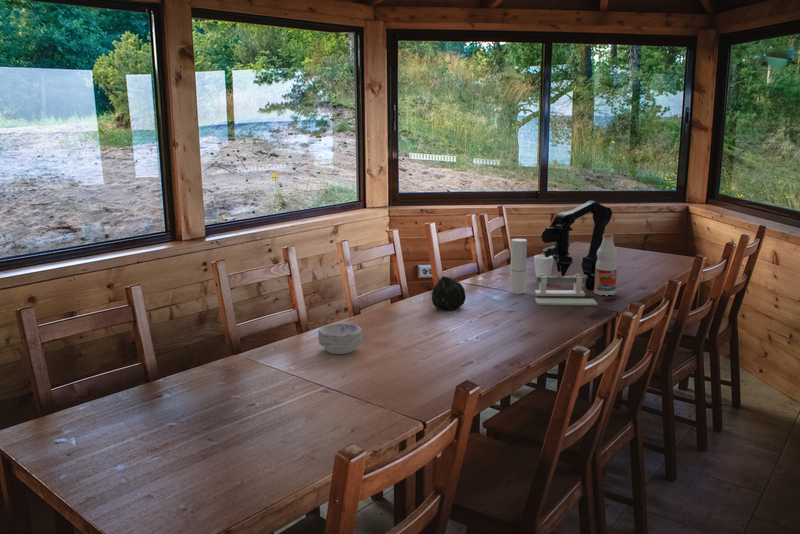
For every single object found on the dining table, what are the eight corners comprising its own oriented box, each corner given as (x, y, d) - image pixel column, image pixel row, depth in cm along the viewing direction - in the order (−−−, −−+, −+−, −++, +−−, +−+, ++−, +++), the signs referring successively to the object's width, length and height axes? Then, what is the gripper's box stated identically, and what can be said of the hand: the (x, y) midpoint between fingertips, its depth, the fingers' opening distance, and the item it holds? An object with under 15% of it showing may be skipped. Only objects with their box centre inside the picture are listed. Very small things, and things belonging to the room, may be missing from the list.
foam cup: (547, 285, 310) (548, 259, 307) (530, 282, 316) (531, 257, 313) (555, 281, 318) (556, 256, 315) (538, 278, 323) (539, 254, 320)
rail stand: (582, 292, 295) (583, 274, 293) (585, 296, 290) (586, 277, 288) (534, 292, 297) (535, 273, 295) (536, 295, 291) (537, 276, 289)
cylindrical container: (524, 290, 301) (526, 238, 296) (525, 293, 294) (527, 241, 289) (509, 289, 302) (510, 238, 297) (510, 293, 295) (512, 241, 290)
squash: (474, 292, 276) (451, 267, 276) (468, 303, 262) (445, 276, 262) (450, 311, 281) (428, 286, 281) (443, 322, 267) (420, 296, 267)
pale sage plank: (593, 300, 283) (593, 298, 282) (597, 305, 275) (597, 303, 275) (534, 299, 284) (534, 298, 284) (537, 304, 276) (537, 303, 276)
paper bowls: (362, 342, 230) (362, 321, 229) (361, 357, 215) (361, 335, 214) (320, 343, 230) (320, 322, 228) (316, 358, 215) (316, 336, 213)
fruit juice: (607, 290, 300) (610, 232, 293) (619, 295, 291) (623, 235, 285) (589, 292, 297) (593, 233, 291) (601, 297, 288) (605, 236, 282)
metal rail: (583, 281, 293) (583, 276, 292) (585, 282, 290) (585, 277, 289) (535, 280, 294) (536, 275, 293) (536, 282, 291) (537, 277, 290)
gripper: (541, 237, 297) (540, 269, 301) (548, 244, 279) (546, 278, 282) (565, 237, 297) (563, 269, 300) (573, 244, 278) (571, 278, 282)
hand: (560, 274), depth 291 cm, fingers open, 9 cm apart
